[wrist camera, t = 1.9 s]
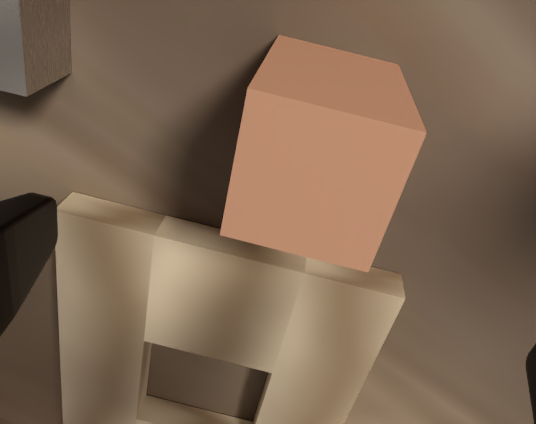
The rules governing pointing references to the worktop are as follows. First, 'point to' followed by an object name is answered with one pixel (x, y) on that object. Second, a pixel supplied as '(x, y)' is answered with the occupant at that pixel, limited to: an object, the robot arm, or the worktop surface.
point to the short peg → (34, 44)
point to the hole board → (207, 317)
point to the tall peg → (321, 153)
